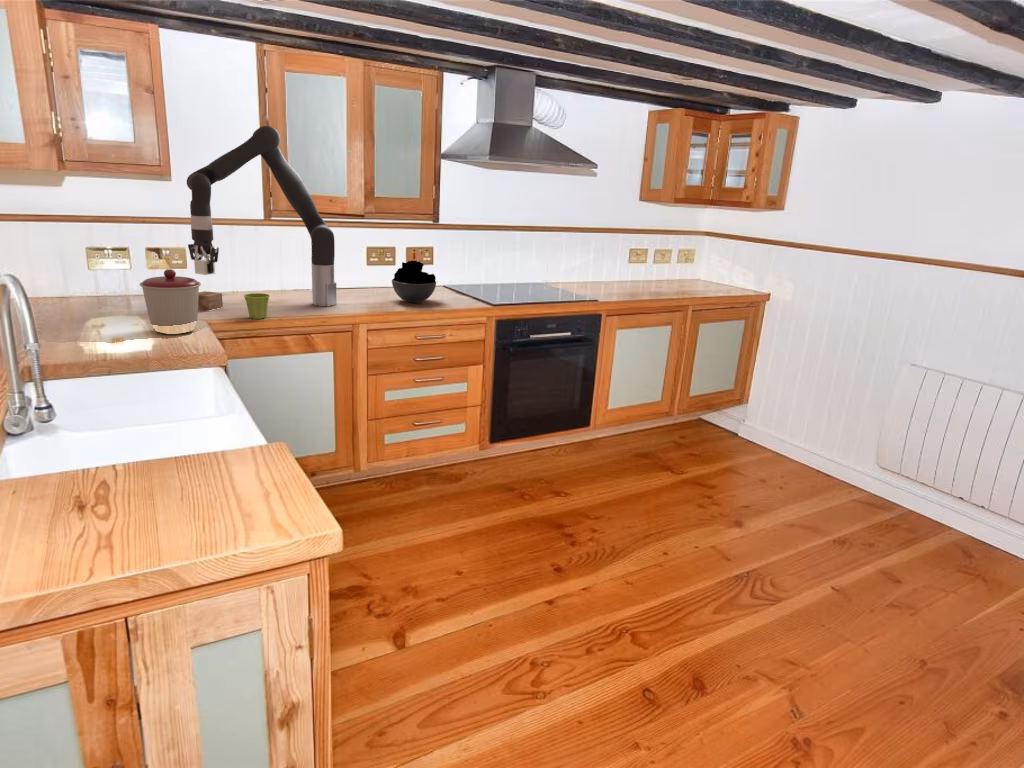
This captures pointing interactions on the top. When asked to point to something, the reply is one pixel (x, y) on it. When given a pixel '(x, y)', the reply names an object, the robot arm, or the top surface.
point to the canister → (171, 299)
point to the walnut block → (209, 300)
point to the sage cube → (202, 267)
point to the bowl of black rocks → (413, 282)
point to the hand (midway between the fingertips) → (205, 272)
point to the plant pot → (257, 305)
